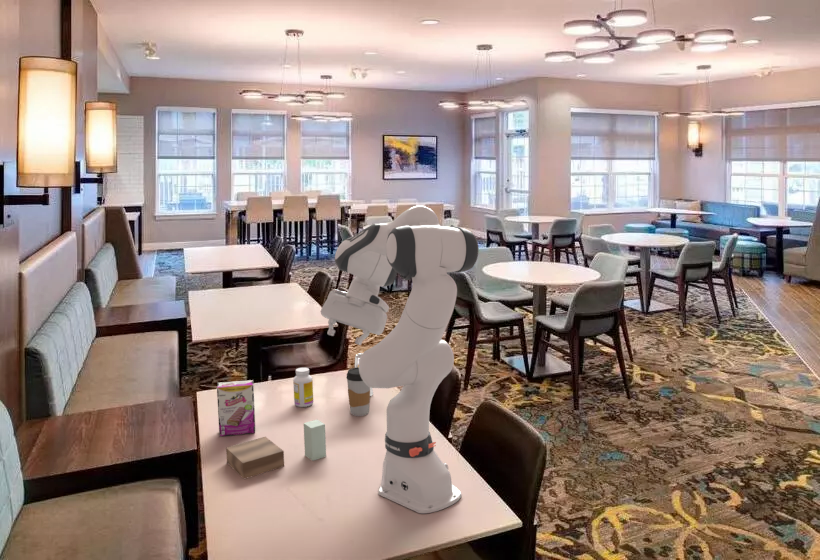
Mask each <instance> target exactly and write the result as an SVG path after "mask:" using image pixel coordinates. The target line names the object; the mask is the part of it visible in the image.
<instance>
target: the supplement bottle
mask: <svg viewBox="0 0 820 560" xmlns="http://www.w3.org/2000/svg"><path fill="white" fill-rule="evenodd" d="M292 381H293V399H294V400H293V402H294V405H295V406H296V407H299V408H307V406H308V407H310V406H312V405H313V404H314V387H313V384H314V383H313V377H312V376H311V375H310V369H309V367H298V368H296V369H295V376H294V377H293V379H292Z"/></svg>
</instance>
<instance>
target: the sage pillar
mask: <svg viewBox="0 0 820 560" xmlns="http://www.w3.org/2000/svg"><path fill="white" fill-rule="evenodd" d="M326 439H327V437H326V424H325V423H324V422H322V421H321V420H319V419H318V418H316V419H314V420H310V421H307V422H304V423H303V440H304V456H305V457H307V458H308V459H309V460H310V461H312V462H313V461H316V460H319V459H323V458H326V457H327V445H326V443H327V442H326Z"/></svg>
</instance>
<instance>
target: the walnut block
mask: <svg viewBox="0 0 820 560" xmlns="http://www.w3.org/2000/svg"><path fill="white" fill-rule="evenodd" d="M225 452H226V464H227V465H228V466H230V467H231V469H233V470H234V471H235V473H236V474H238V475H239V476H240V477H241V476H242V477H243V478H246V479H248V478H247V477H249V478H252V477H255V476H257V475H262V474H264V472H265V473H268V472H270V471H274V470H278V469H280V468H283V467H285V454H284V453H285V451H284V449H282V448H281V447H280V446H278V445H277V444H276V443H274V442H273V441H272V440H270V439H269V438H268V437H267V436H262V437H260V438H255V439H252V440H249V441H248V440H247V441H245V442H241V443H238V444H234V445H229V446H228V447H226V448H225ZM273 469H274V470H273ZM267 471H268V472H267ZM261 473H262V474H261ZM251 476H252V477H251ZM242 477H241V478H242ZM243 478H242V479H243Z"/></svg>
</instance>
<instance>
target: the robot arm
mask: <svg viewBox="0 0 820 560" xmlns="http://www.w3.org/2000/svg"><path fill="white" fill-rule="evenodd" d="M479 250H480V249H479V242H478V239H477V237H476V235H474V233H473V232H472V231H471V230H469V229H467V228H464V227H460V226H456V225H453V224H451V225H449V226H446V225H445V226H444V225H440V220H439V217H438V215H437V213H435V211H434V210H432V208H430V207H427V206H425V205H414V206H412V207H409V208H408V209H406V210H404V211H403V212H401V213H400V214H399V215H398V216H397V217H396V218H395V219H394V220H392V221H389V222H388V221H387V222H383V223H372V224H371V225H369V226H367V227H366V228H364V229H362V230H361V231H359V232H358V233H357V234H355V235H353V236H351V237H347V238H346V239H344V240H343V241H342V242H341V243H340V244H339V245H338V247H337V249H336V251H335V255H334V262H335V265H336V266H337V268H338V270H339V271H342V272H345V273H349V274H351V275H353V276H355V277H354V278H353V279H352V280H351V283H350V285H349V288H348V290H347V292H346V291H343V290H340V289H334V290H331V291H329V293H328V296H327V299H326V300H325V302H324V303H323V305H322V307H321V310H320V314H321V316H322V317H324V318H326V319H327V320H328V322H327V323H328V330H327V335H328V336H331V337H334V336H335V334H336V330H335V329H334V325H336V322H337V323H341V324H344V325H347V326H350V327H353V328H355V329H358V330H361V331H362V334H361V335H360V336H359V337H358V336H357V337H356V338H355V341H354V344H356V345H358V346H361V345H362V343H363V341H365V339H367V338H368V337H369V336H370V334H373V335H374V334H375V335H377V336H380V335H382V334H383V332H384V330H385V326H386V323H387V320H388V315H387V313H388V312H389V309H390V307H389V304H388V303H387V302H386V301H385V300H383V299H382V298H381V297H380V296H379V294H380V289H381V288H380V287H382V288H383V287H385V288H386V287H387V286H392V285H393V284H394V282H395V279H396V276H397V274H398V275H400V278H401V279H403V280H404V281H409V280H412V286H411V287H412V288H411V291H410V293H409V296H408V297H407V300H406V303H405V306H404V308H403V311H402V312H401V316H400V318H399V320H398V322H397V324H396V325H395V327H394V328H393V329H392V330H391V331H390V332H389V333H388V334H387V335H385V337H384V338H383V339H382V340H381V341H379V342H378V343H377V344H375V345H374V346H372V347H370V348H368V349H366V350H365V351H364V352H363V354H362V356H361V358H360V361H359V373H360V376H361V378H362V380H363V381H364V383H365V384H366V385H367V386H369V387H370V388H372V389H392V388H399V387H401V390H400V391H399V392H398V393H397V394H396V395H394V397H392V398H391V400H390V401H389V402H388V403H387V406H386V431H385V436H384V446H385V447H384V448H385V450H386V452H385V455H384V459H383V463H382V472H381V473H382V474H381V484H380V486H379V488H378V491H377V492H378V493H377V494H378V495H379V496H381V497H383V498H385V499H388V500H390V501H392V502H394V503H397V504H399V505H401V506H403V507H404V508H406V509H407V508H408V509H409V510H410V511H414V512H416V513H418V514H429V513H435V512H438V511H441V510H443V509H446V508H448V507H451V506H452V505H454V504H456V503H457V502H458V501H460V499H461V498H462V492H461V490H460V489H458V488H457V487H456V486H455V485H453V482H452V476H451V473H450V470H449V466H448V464H447V462H443V461H442V460H441V458H440V457H439V456H438V454H437V453H436V451H435V448H434V447H436V443H437V442H436V441H434V442H433V437H432V434H431V432H430V413H431V412H430V410H431V404H432V401H433V397H434V395H435V393H436V391H437V389H438V387H439V385H440V384H441V383H442V381H443V380H444V379H445V378H446V377H447V376H448V375H449V374H450V373H451V371H452V369H453V368H454V363H455V354H454V352H453V349H452V347H451V346H450V344H449V343H448V342H447V341H446V340H444V339H442V338H443V336H444V334H445V331H446V330H447V327H448V325H449V323H450V320H451V318H452V316H453V313H454V309H455V306H456V305H455V304H456V301H457V295H458V286H457V284H456V282H455V281H456V280H454V279H453V278H452V276H450V274H448V273H453V272H455V273H462V272H466V271H467V272H468V271H469V270H471V269H472V268H473V267H474V266H475V264H476V263H477V260H478V258H479Z"/></svg>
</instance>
